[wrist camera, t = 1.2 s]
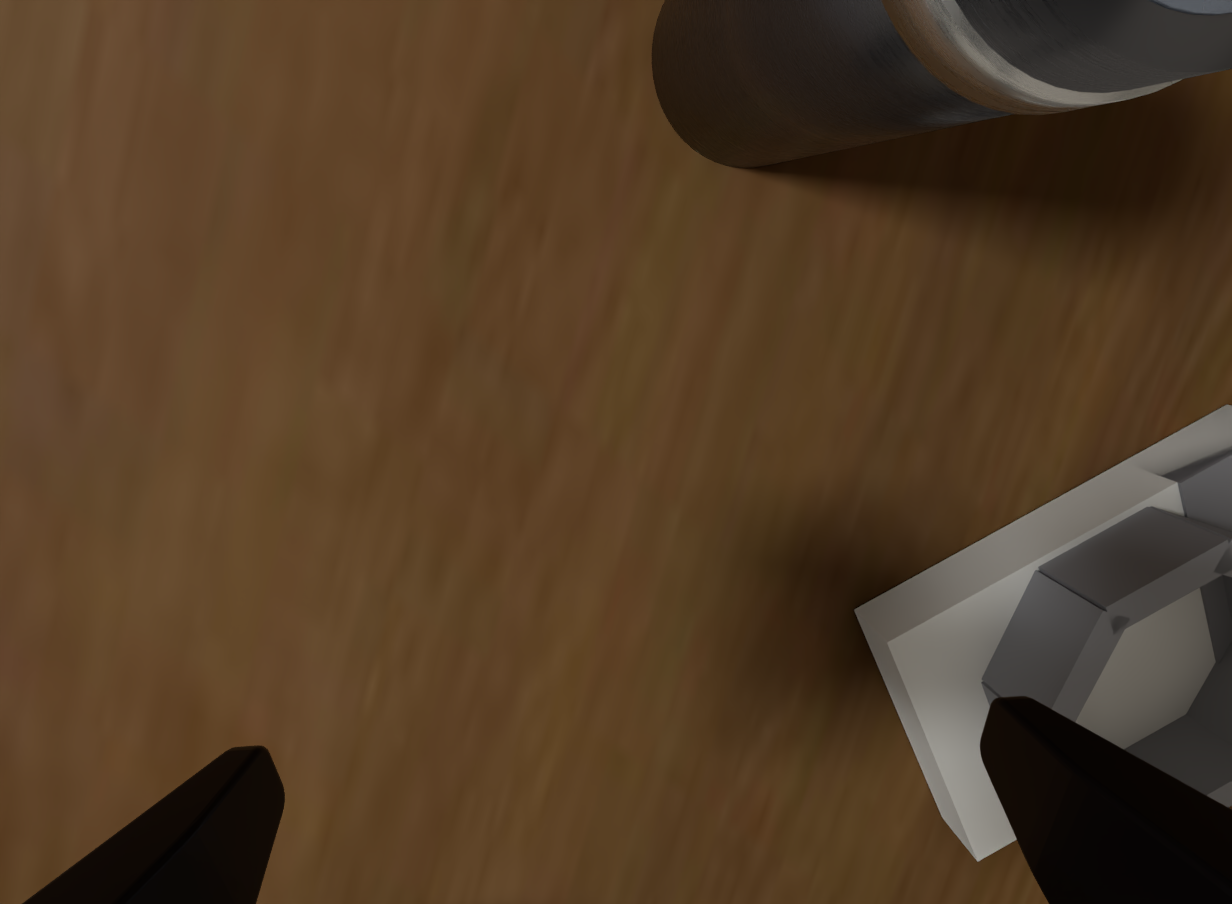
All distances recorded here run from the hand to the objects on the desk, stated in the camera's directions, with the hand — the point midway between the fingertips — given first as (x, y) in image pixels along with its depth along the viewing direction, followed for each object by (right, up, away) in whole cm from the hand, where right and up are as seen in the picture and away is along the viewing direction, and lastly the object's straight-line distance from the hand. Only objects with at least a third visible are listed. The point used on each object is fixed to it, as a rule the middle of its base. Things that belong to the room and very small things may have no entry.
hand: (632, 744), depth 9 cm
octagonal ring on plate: (+16, -2, +16) cm, 23 cm away
